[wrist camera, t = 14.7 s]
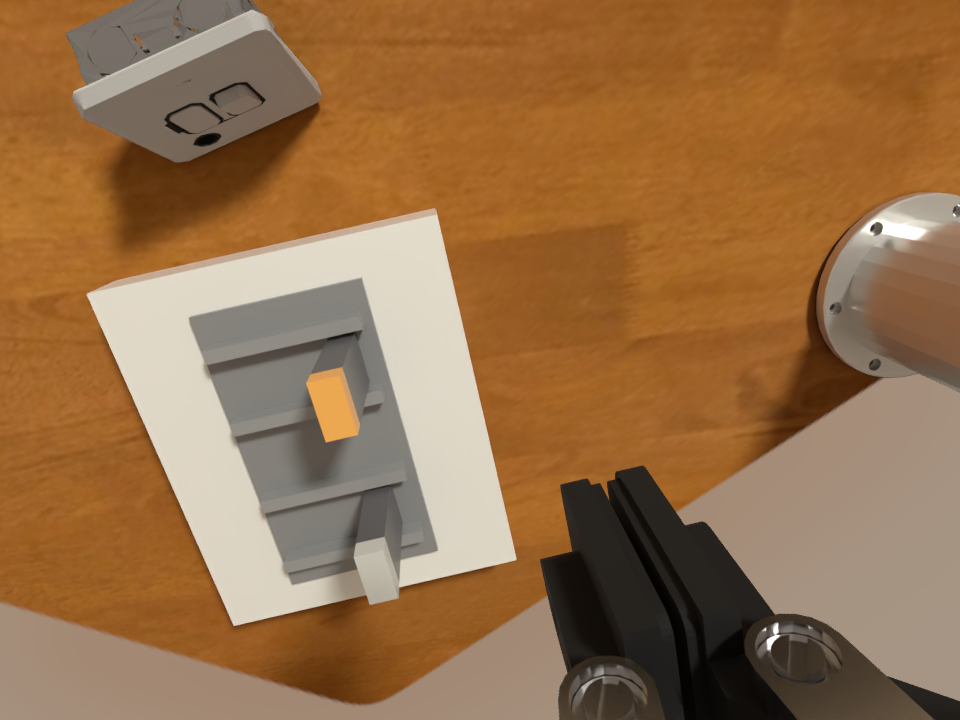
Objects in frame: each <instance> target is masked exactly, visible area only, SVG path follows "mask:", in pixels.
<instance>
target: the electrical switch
mask: <svg viewBox="0 0 960 720" xmlns="http://www.w3.org/2000/svg"><path fill="white" fill-rule="evenodd" d="M178 9H180V14H181V15H180V14H179V12H178ZM226 13H227V19H226V20H225V17H226ZM174 19H175V21H176V22H177V24H178V26H176V25H175V23H174ZM116 26H117V27H116ZM191 29H193V30H196V31H199V33H198V32H194V31H192V30H191ZM94 31H95V32H94ZM93 32H94V34H93V35H92V33H93ZM134 35H136V36H137V37H139V38H140V39H142V47H140V46H139V44H138V42H137V40H136V38H135V37H134ZM181 35H182V36H181ZM66 36H67V38H68V40H69V42H70V44H71V46H72V48H73V50H74V53H75V55H76V57H77V59H78V63H79V68H80V72H81V75H82V77H83V79H84V81H85V83H86V86H85V87H83V88H80V89H78V90H76V91H74V93H73V100H72V101H73V102H74V104H75V106H76V108H77V109H78V111H79V113H80V115H81V117H82V119H84V120H87V121H89V122H91V123H93V124H95V125H97V126H99V127H101V128H104V129H106V130H108V131H110V132H112V133H114V134H116V135H118V136H120V137H123V138H125V139H127V140H129V141H131V142H133V143H135V144H137V145H140V146H142V147H144V148H146V149H148V150H150V151H152V152H154V153H157V154H159V155H161V156H163V157H165V158H167V159H169V160H171V161H173V162H188V161H190V160H193V159H195V158H197V157H199V156H202V155H204V154H206V153H208V152H210V151H213V150H215V149H217V148H219V147H221V146H224V145H226V144H228V143H230V142H232V141H235V140H237V139H239V138H241V137H243V136H246V135H248V134H250V133H252V132H255V131H257V130H259V129H261V128H263V127H266V126H268V125H270V124H272V123H274V122H277V121H279V120H281V119H283V118H285V117H288V116H290V115H292V114H294V113H296V112H299V111H301V110H303V109H305V108H308V107H310V106H312V105H314V104H316V103H318V102H319V101H320V99H321V98H322V94H321V92H320V89H319V86H318V83H317V81H316V79H315V78H314V77H313V76H312V75H311V74H310V73H309V72H308V70H307V69H306V68H305V67H304V66H303V65H302V64H301V62H300V61H299V60H298V59H297V58H296V57H295V55H294V54H293V53H292V52H291V51H290V50H289V49H288V47H287V46H286V45H285V44H284V43H283V41H282V39H281V37H280V36H279V35H278V33H277V32H276V31H275V30H274V25H273V24H272V22H271V21H270V19H269V18H268V17H266V16H265V15H263V14H262V13H261V12H260V10H259V9H258V8H257V6H256V5H255V4H254V3H253V1H252V0H135V1H133V2H131V3H129V4H127V5H125V6H123V7H120V8H118V9H116V10H114V11H112V12H110V13H108V14H105V15H103V16H101V17H99V18H97V19H95V20H93V21H91V22H88V23H86V24H84V25H82V26H80V27H78V28H76V29H74V30H71V31H69V32H67V33H66ZM180 36H181V37H180ZM149 49H150V51H149Z"/></svg>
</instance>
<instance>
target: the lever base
mask: <svg viewBox="0 0 960 720" xmlns="http://www.w3.org/2000/svg"><path fill="white" fill-rule="evenodd" d="M87 296H88V298H89V301H90V303H91V305H92V307H93V310H94V312H95V314H96V316H97V319H98V321H99V323H100V325H101V328H102V330H103V332H104V334H105V337H106V339H107V341H108V343H109V346H110V348H111V350H112V352H113V355H114V357H115V359H116V361H117V364H118V366H119V368H120V370H121V373H122V375H123V377H124V379H125V382H126V384H127V386H128V389H129V391H130V393H131V395H132V398H133V400H134V402H135V404H136V407H137V409H138V411H139V413H140V416H141V418H142V420H143V422H144V425H145V427H146V429H147V431H148V434H149V436H150V438H151V440H152V443H153V445H154V447H155V449H156V452H157V454H158V456H159V458H160V461H161V463H162V465H163V467H164V470H165V472H166V474H167V476H168V479H169V481H170V483H171V485H172V488H173V490H174V492H175V494H176V497H177V499H178V501H179V503H180V506H181V508H182V510H183V512H184V515H185V517H186V519H187V521H188V524H189V526H190V528H191V531H192V533H193V535H194V537H195V540H196V542H197V544H198V546H199V549H200V551H201V553H202V555H203V558H204V560H205V562H206V564H207V567H208V569H209V571H210V573H211V576H212V578H213V580H214V582H215V585H216V587H217V589H218V591H219V594H220V596H221V598H222V600H223V603H224V605H225V607H226V609H227V612H228V614H229V616H230V618H231V621H232V623H233V625H234V626H236V625H240V624H244V623H249V622H253V621H257V620H262V619H266V618H270V617H274V616H279V615H283V614H287V613H292V612H296V611H300V610H305V609H309V608H313V607H317V606H322V605H326V604H330V603H335V602H339V601H343V600H347V599H352V598H356V597H360V596H365V595H367V598H368V601H369V604H370V605H371V604H376V603H380V602H384V601H389V600H393V599H397V598H399V587H403V586H407V585H412V584H416V583H420V582H425V581H429V580H433V579H437V578H442V577H446V576H450V575H455V574H459V573H463V572H467V571H472V570H476V569H480V568H485V567H489V566H493V565H498V564H502V563H506V562H510V561H515V560H517V559H516V555H515V550H514V546H513V541H512V537H511V533H510V528H509V524H508V519H507V515H506V511H505V506H504V502H503V498H502V493H501V489H500V485H499V480H498V476H497V472H496V467H495V463H494V459H493V454H492V450H491V446H490V441H489V437H488V433H487V428H486V424H485V420H484V415H483V411H482V407H481V402H480V398H479V394H478V389H477V385H476V381H475V376H474V372H473V368H472V363H471V359H470V355H469V350H468V346H467V342H466V337H465V333H464V329H463V324H462V320H461V316H460V311H459V307H458V303H457V298H456V294H455V290H454V285H453V281H452V277H451V272H450V268H449V264H448V259H447V255H446V251H445V246H444V242H443V238H442V233H441V229H440V225H439V220H438V216H437V212H436V208H433V209H429V210H425V211H420V212H416V213H411V214H407V215H403V216H398V217H394V218H389V219H385V220H380V221H376V222H372V223H367V224H363V225H358V226H354V227H350V228H345V229H341V230H336V231H332V232H327V233H323V234H319V235H314V236H310V237H305V238H301V239H297V240H292V241H288V242H283V243H279V244H274V245H270V246H266V247H261V248H257V249H252V250H248V251H243V252H239V253H235V254H230V255H226V256H221V257H217V258H213V259H208V260H204V261H199V262H195V263H190V264H186V265H182V266H177V267H173V268H168V269H164V270H160V271H155V272H151V273H146V274H142V275H137V276H133V277H129V278H124V279H120V280H116V281H114V282H111V283H109V284H107V285H105V286H103V287H100V288H98V289H96V290H94V291H92V292H89V293H87ZM352 332H355V334H356V337H357V340H358V344H359V347H360V351H361V354H362V357H363V361H364V364H365V368H366V371H367V374H368V378H369V381H370V382H369V387H368V391H367V396H366V400H365V405H364V409H363V414H362V418H361V423H360V428H359V432H358V435H356V436H352V437H347V438H343V439H339V440H334V441H330V442H326V441H325V438H324V435H323V432H322V429H321V426H320V423H319V420H318V417H317V414H316V411H315V408H314V405H313V402H312V399H311V397H310V394H309V391H308V388H307V385H306V382H307V380H308V378H309V376H310V374H311V372H312V370H313V368H314V366H315V364H316V362H317V360H318V358H319V355H320V353H321V351H322V349H323V347H324V345H325V343H326V341H327V339H328V338H330V337H334V336H338V335H343V334H347V333H352Z"/></svg>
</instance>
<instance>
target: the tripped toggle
mask: <svg viewBox="0 0 960 720" xmlns="http://www.w3.org/2000/svg"><path fill="white" fill-rule="evenodd" d="M369 382H370V381H369V378H368V374H367V371H366V368H365V364H364V361H363V357H362V354H361V351H360V347H359V344H358V340H357V337H356V334H355V332H352V333H347V334H343V335H338V336H334V337H330V338H328V339H327V341H326V343H325V345H324V347H323V349H322V351H321V353H320V355H319V358H318V360H317V362H316V364H315V366H314V368H313V370H312V372H311V374H310V376H309V378H308V380H307V382H306V385H307V388H308V391H309V394H310V397H311V399H312V402H313V405H314V408H315V411H316V414H317V417H318V420H319V423H320V426H321V429H322V432H323V435H324V438H325V441H326V442H330V441H334V440H339V439H343V438H347V437H352V436H356V435H358V432H359V428H360V423H361V418H362V414H363V409H364V405H365V400H366V396H367V391H368V387H369Z"/></svg>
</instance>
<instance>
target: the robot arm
mask: <svg viewBox="0 0 960 720" xmlns="http://www.w3.org/2000/svg"><path fill="white" fill-rule="evenodd" d="M816 313H817V319H818V324H819V329H820V331H821V334H822V336H823V338H824V341H825V343H826V344H827V345H828V347H829V348H830V350H831V351H832V352H833V354H834V355H836V356H837V357H838V358H839V359H840V360H841V361H843V362H844V363H845V364H847V365H849V366H851V367H853V368H855V369H856V370H858V371H861V372H863V373H865V374H868V375H871V376H878V377H885V378H895V377H905V376H910V375H914V374H918V373H919V374H921V375H923V376H926V377H927V378H930V379H932V380H934V381H936V382H938V383H940V384H942V385H945V386H947V387H949V388H951V389H953V390H955V391H957V392H960V196H957V195H953V194H946V193H937V192H924V193H914V194H909V195H905V196H901V197H898V198H895V199H893V200H891V201H888V202H886V203H884V204H881V205H880V206H878V207H877V208H875V209H874V210H872V211H870V212H869V213H867V214H866V215H864V216H863V217H862V218H861V219H860V220H859V221H858V222H857V223H855V224H854V225H853V226H852V227H851V228H850V229H849V230H848V231H847V233H846V234H845V235H844V236H843V237H842V239H841V240H840V241H839V242H838V243H837V245H836V247H835V248H834V250H833V252H832V253H831V255H830V257H829V259H828V260H827V263H826V265H825V268H824V270H823V273H822V275H821V278H820V282H819V287H818V292H817V306H816ZM560 487H561V494H562V499H563V504H564V510H565V515H566V520H567V525H568V530H569V536H570V541H571V546H572V551H573V552H569V553H565V554H560V555H556V556H552V557H548V558H543V559H540V562H541V567H542V572H543V577H544V581H545V586H546V591H547V595H548V599H549V603H550V608H551V612H552V616H553V620H554V624H555V628H556V632H557V636H558V639H559V643H560V647H561V650H562V654H563V658H564V661H565V665H566V669H567V674H566V675H565V677H564V679H563V682H562V683H561V685H560V688H559V697H558V706H559V720H960V701H957V700H954V699H952V698H949V697H946V696H943V695H940V694H937V693H934V692H931V691H929V690H926V689H923V688H920V687H917V686H914V685H911V684H908V683H906V682H903V681H899V680H897V679H894V678H891V677H888V676H886V675H885V674H884V673H883V672H881V671H880V669H878V668H877V667H876V666H875V665H874V664H873V663H872V662H871V661H870V660H868V659H867V658H866V657H865V656H864V655H863V654H862V653H861V652H860V651H859V650H858V649H857V648H855V647H854V646H853V645H852V644H851V643H850V642H849V641H848V640H847V639H845V638H844V637H843V636H842V635H841V634H840V633H839V632H837V631H836V630H834V629H833V628H831V627H830V626H829V625H827V624H825V623H823V622H821V621H818V620H816V619H814V618H812V617H807V616H802V615H797V614H777V615H775V614H774V613H773V611H772V610H771V609H770V607H769V606H768V605H767V603H766V602H765V601H764V599H763V598H762V597H761V595H760V594H759V593H758V591H757V590H756V589H755V587H754V586H753V585H752V583H751V582H750V580H749V579H748V578H747V576H746V575H745V574H744V572H743V571H742V570H741V568H740V567H739V566H738V564H737V563H736V562H735V560H734V559H733V558H732V556H731V555H730V554H729V552H728V551H727V550H726V548H725V547H724V546H723V544H722V543H721V542H720V540H719V539H718V537H717V536H716V535H715V533H714V532H713V531H712V529H711V528H710V527H709V526H708V525H707V524H706V523H705V522H698V523H694V524H689V525H684V524H683V522H682V521H681V519H680V518H679V516H678V515H677V513H676V512H675V510H674V509H673V507H672V506H671V504H670V503H669V502H668V500H667V499H666V497H665V496H664V494H663V493H662V491H661V490H660V488H659V487H658V485H657V484H656V483H655V481H654V480H653V478H652V477H651V475H650V474H649V472H648V471H647V469H646V468H645V467H644V466H638V467H634V468H630V469H626V470H621V471H617V472H616V473H615V480H611V481H608V482H607V488H608V494H609V499H608V498H607V496H606V494H605V492H604V490H603V488H602V486H601V484H600V483H598V484H594V485H591V484H590V482H589V480H588V479H582V480H578V481H574V482H569V483H565V484H561V486H560ZM609 500H610V501H609Z"/></svg>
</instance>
